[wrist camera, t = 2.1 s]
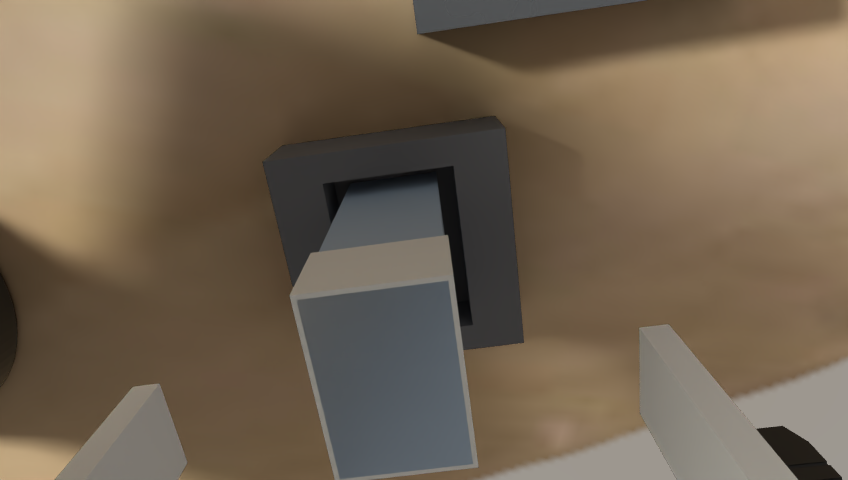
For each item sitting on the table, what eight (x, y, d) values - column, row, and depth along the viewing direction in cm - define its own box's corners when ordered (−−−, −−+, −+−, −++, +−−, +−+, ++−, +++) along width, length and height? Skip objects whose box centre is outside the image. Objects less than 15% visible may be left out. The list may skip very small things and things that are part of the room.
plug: (370, 302, 28) (335, 483, 17) (346, 180, 26) (289, 295, 15) (455, 291, 28) (478, 467, 17) (439, 167, 26) (453, 274, 14)
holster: (324, 331, 30) (312, 368, 26) (282, 145, 26) (262, 161, 23) (512, 307, 29) (523, 342, 26) (494, 115, 26) (505, 128, 23)
